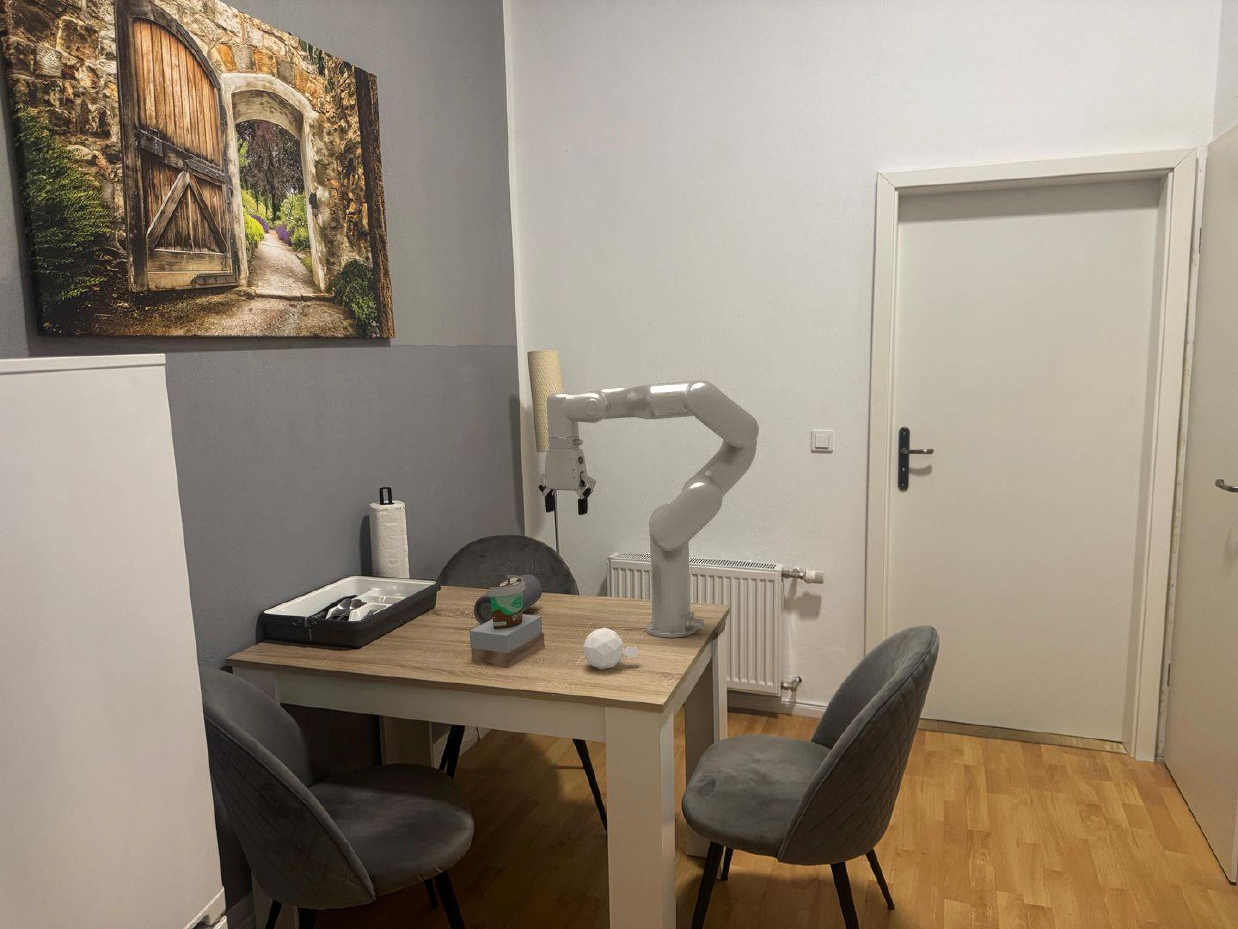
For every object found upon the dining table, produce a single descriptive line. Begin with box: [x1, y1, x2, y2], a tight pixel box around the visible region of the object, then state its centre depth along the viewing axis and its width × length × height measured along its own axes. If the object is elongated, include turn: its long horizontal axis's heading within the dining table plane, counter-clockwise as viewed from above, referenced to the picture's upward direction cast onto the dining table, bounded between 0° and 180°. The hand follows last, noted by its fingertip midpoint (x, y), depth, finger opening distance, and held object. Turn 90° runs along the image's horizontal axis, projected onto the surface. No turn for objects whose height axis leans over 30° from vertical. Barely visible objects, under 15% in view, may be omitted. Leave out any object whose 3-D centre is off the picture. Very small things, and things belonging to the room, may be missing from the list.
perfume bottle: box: [582, 627, 639, 670], centre depth 189 cm, size 9×9×12 cm
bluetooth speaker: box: [473, 574, 543, 625], centre depth 227 cm, size 23×9×10 cm, turn 159°
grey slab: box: [469, 613, 543, 653], centre depth 199 cm, size 10×15×4 cm, turn 154°
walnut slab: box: [470, 632, 545, 669], centre depth 200 cm, size 10×15×4 cm, turn 152°
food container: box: [488, 574, 526, 629], centre depth 199 cm, size 12×6×10 cm, turn 167°
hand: (566, 512), depth 211 cm, fingers open, 9 cm apart
